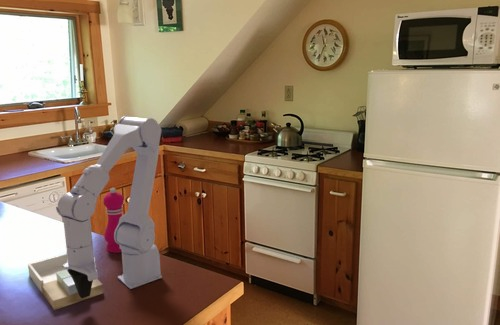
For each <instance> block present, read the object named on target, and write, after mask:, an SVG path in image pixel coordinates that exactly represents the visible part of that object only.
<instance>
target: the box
mask: <svg viewBox="0 0 500 325" xmlns="http://www.w3.org/2000/svg"><path fill="white" fill-rule="evenodd" d="M65 263H67V252H66V253H63V254H59V255H57V256H53V257H49V258H46V259H42V260H39V261H35V262H30V263H28V264H27V267H28V275H29V277H30V279H31V280H32V281H33V283H34V284H35V285H36V287H37V289H38V290H39V292H41V293H42V288H41V284H44V283H48V282H51V281H54V280H57V276H56V272H58V271H62V270H65V269H64V268H63V264H65Z"/></svg>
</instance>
